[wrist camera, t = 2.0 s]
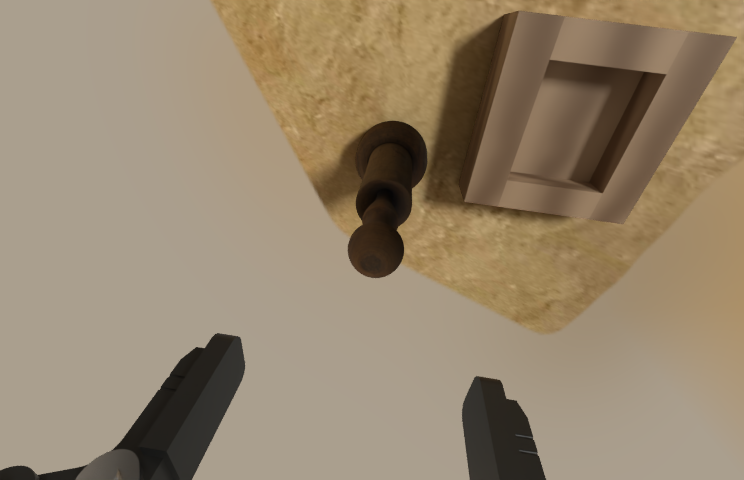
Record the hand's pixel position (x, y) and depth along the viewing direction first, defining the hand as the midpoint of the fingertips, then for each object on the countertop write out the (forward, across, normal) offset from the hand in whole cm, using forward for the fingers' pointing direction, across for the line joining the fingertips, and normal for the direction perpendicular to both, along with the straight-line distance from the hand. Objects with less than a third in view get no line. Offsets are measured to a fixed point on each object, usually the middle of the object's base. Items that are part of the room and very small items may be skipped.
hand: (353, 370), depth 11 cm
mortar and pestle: (+24, 0, 0) cm, 24 cm away
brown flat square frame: (+25, -14, -5) cm, 29 cm away
